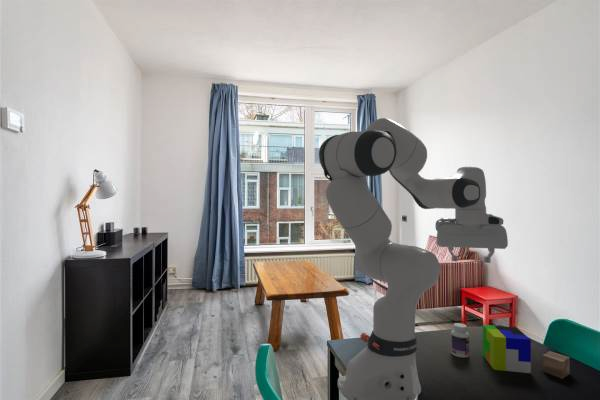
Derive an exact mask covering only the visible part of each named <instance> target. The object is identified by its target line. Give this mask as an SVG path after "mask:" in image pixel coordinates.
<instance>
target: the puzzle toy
mask: <svg viewBox="0 0 600 400" xmlns="http://www.w3.org/2000/svg"><path fill="white" fill-rule="evenodd" d="M531 342H532V339H531V338H530V337H528V336H527V335H526V334H525V333H524V332H522V330H520V329H519V328H518V327H515V326H503V325H488V324H483V325H482V355H483V357H484V359H485V360H486V362H487V363H488V364H489V365H490V367H491V368H492V370H495V371H504V372H513V373H514V372H515V373H525V374H531V373H532V371H531V369H532V367H531V365H532V364H531V363H532V355H531V354H532V353H531V352H532V343H531Z"/></svg>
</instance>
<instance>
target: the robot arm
mask: <svg viewBox="0 0 600 400" xmlns="http://www.w3.org/2000/svg"><path fill="white" fill-rule="evenodd" d="M318 156H319V158H318V159H319V163H320V166H321V169H323V175H324V177H325V178H326V179H327V180H329V181H330V182H329V184H328V185H327V186H326V190H325V198H326V201H327V203H328V205H329V207H330V209H331V211H332V213H333V215H334V216H335V218H336V220H337V222H339V224H340V226H341V227H342V228H343V229H344V231H345V233H346V234H347V235H348V237H349V239H350V240H351V241H352V243H353V244H354V247H355V248H356V251H355V252H354V253H355V254H354V265H355V267H356V269H357V271H358V272H359V273H361V274H363V275H364V276H366V277H368V278H370V279H372V280H376V281H380V282H384V283H387V289H386V290H387V291H386V293H385V295H384V296H382V297H380V298H378V299H377V300H376V301H375V302H374V304H373V307H372V310H373V311H372V312H373V313H372V315H373V316H372V319H373V320H372V321H373V325H372V326H373V327H372V331H371V334H370V335H368V334H367V333H365V332H362V333H361V334H360V340H362V341H363V342H364V343H367V345H366V346H365V347H364V348H363V349H361V351H360V352H358V353H357V354H356V355H355V356H354V357H353V358H351V359H350V360H349V361H348V363H347V366H346V371H345V375H343V376H342V375H341V376H340V377H338V379H337V388H338V390H339V392H340V394H342V396H343V397H344V398H345V399H347V400H419V399H418V398H419V395H420V394H421V392H422V386H421V384H420V379H419V376H418V367H417V361H416V360H417V358H416V351H417V335H416V331H415V330H416V312H417V308H418V307H417V306H418V304H419V301H420V299H421V297H423V296H422V295H423V294H424V293H425V292H426V291H428V290H429V289H431V288H432V287H434V286H435V284H436V283H437V282H438V281H439V278H440V274H441V265H440V262H439V259H438V257H437V255H435V254H434V252H431V251H429V250H427V249H425V248H422V247H419V246H417V245H415V246H414V245H408V244H401V243H395V242H393V241H392V240H390V236H391V235H392V229H393V225H392V221H391V220H390V218H389V216H388V215H387V213H386V211H385V210H384V209H383V207H382V206H381V204H380V202H379V200H377V198H376V197H375V195H374V193H372V192H371V190H370V188H369V185H368V184H369V183H368V182H367V181H368V179H367V177H377V176H381V175H383V174H386V173H387V172H389V174H390V176H391V177H392V178H393V179H394V180H395V181H396V182H397V183H398V184H399V185H400V186H401V187H403V188H404V189H405V191H407V192H408V193H409V194H410V196H411V197H412V198H413V200H414V202H415V203H416V204H417V206H418V207H419V208H422V209H424V210H431V209H445V210H447V209H454V210H455V211H454V212H455V214H454V215H455V217H451V218H450V217H448V218H445V217H442V218H440V219H437V220H436V221H435V230H436V231H437V232H436V245H437V246H438V247H440V248H447V250H448V252H449V253H450V256H451V262H458V255H456V254H454V253H453V251H454V249H455V248H465V249H467V248H468V249H470V248H471V249H487V251H488V254H487V255H486V256H485V255H484V256H483V261H484V264H490V263H491V258H492V256H493V255H494V254H495V250H497V249H498V250H499V249H500V250H505V249H506V248H507V247H508V246H509V242H508V241H509V240H508V234H507V233H508V232H507V229H506V227H504V226H503V225H504V219H503V218H502V217H500V216H496V215H494V214H491V213H487V207H486V206H487V205H486V203H485V202H486V197H487V185H486V184H487V182H486V177H485V173H484V170H483V169H481V168H480V167H476V166H463V167H459V168H458V169H457V170H456V173H455V174H453V175H452V176H448V177H437V178H430V177H429V178H425V177H422V176H421V175H420V174H419V173H420V172H421V171H422V170H423V168H424V167H425V165H426V164H427V163H426V162H427V159H428V150H427V147H426V145H425V144H424V142H423V141H422V140H421V139H420V138H419V137H417V136H416V135H415V134H414V133H413V132H412V131H410V130H409V129H408V128H406V127H404V126H403V125H401V124H400V123H397V122H396V121H394V120H392V119H389V118H385V117H381V118H378V119H375V120H374V121H372V122H371V123H370V124H369V125H368V126H367V128H366V129H365V131H363V130H361V131H348V132H344V133H341V134H334V135H333V136H330V137H328V138H327V139H324V141H323V142H322V144H321V145H320V147H319V151H318Z"/></svg>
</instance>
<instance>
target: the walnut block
mask: <svg viewBox="0 0 600 400" xmlns="http://www.w3.org/2000/svg"><path fill="white" fill-rule="evenodd" d="M570 359H571V358H570V357H569V356H566V355H564V354H560V353H557V352H553V351H551V350H550V351H547V352H546V353H544V354H542V372H543V373H546V374H548V375H550V376H554V377H557V378H559V379H562V380H563V379H564V378H566V377H568V376H569V375H570V371H571V369H570V367H571V366H570V363H571V362H570Z"/></svg>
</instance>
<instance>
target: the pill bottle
mask: <svg viewBox="0 0 600 400" xmlns="http://www.w3.org/2000/svg"><path fill="white" fill-rule="evenodd" d="M467 329H468V326H467V325H466V324H465V323H460V322H455V323H453V329H452V330H451V333H450V336H451V337H450V338H451V339H450V341H451V342H450V343H451V344H450V345H451V346H450V347H451V348H450V351H451V354H452V355H453V356H455V357H458V358H462V359H463V358H469V356H470V334H469V332H467V331H468V330H467Z"/></svg>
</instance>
